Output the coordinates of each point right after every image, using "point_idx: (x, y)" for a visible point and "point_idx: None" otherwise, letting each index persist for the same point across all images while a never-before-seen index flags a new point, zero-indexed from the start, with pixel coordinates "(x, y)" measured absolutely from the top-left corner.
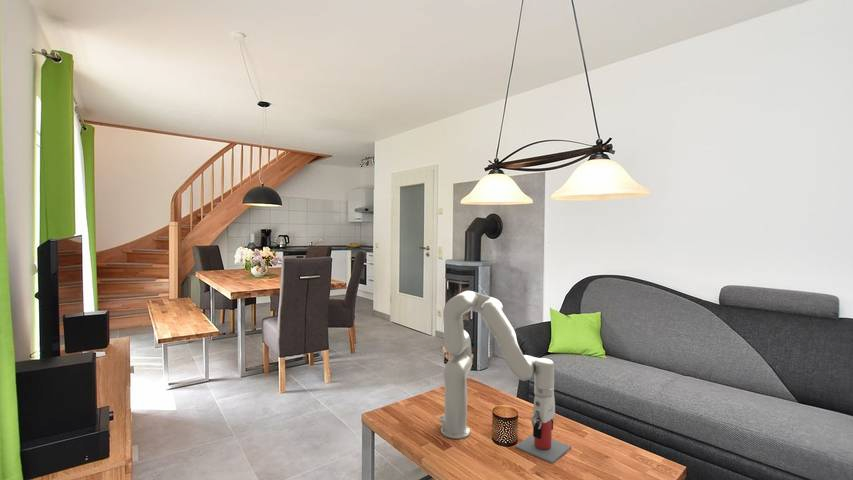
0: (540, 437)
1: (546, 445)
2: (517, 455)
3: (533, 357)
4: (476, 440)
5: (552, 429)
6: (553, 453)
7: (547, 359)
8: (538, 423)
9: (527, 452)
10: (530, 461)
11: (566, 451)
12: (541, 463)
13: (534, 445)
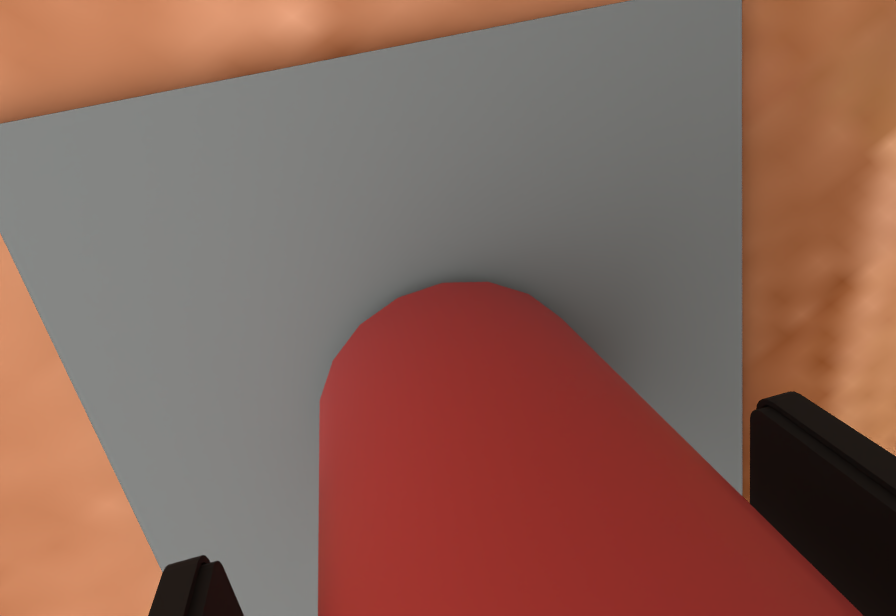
0: (809, 407)
1: (544, 311)
2: (856, 403)
3: None
4: None
5: (193, 568)
6: (500, 156)
7: None
8: None
9: (732, 390)
10: (876, 225)
11: (198, 85)
12: (826, 101)
13: None
